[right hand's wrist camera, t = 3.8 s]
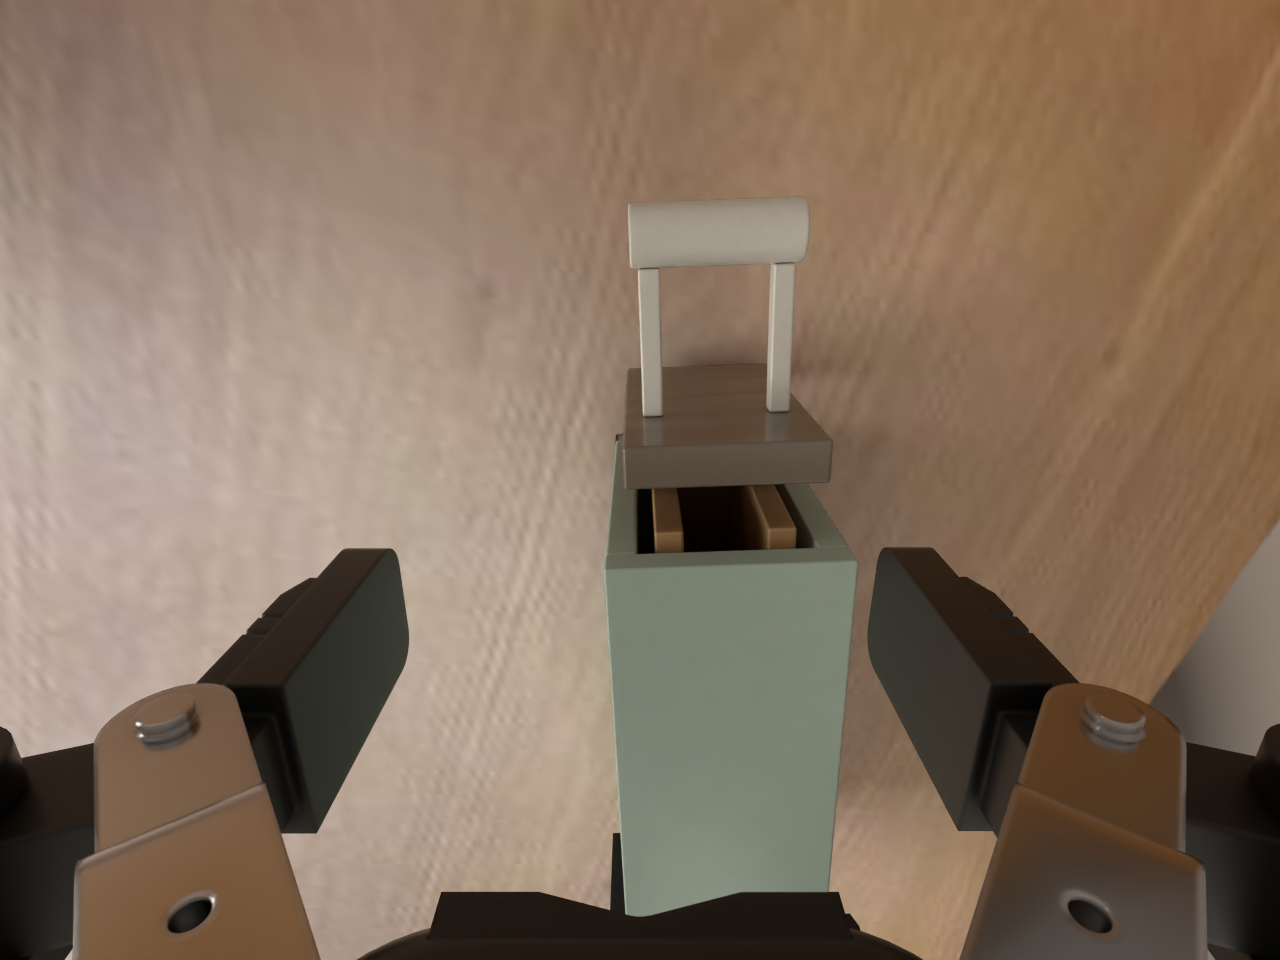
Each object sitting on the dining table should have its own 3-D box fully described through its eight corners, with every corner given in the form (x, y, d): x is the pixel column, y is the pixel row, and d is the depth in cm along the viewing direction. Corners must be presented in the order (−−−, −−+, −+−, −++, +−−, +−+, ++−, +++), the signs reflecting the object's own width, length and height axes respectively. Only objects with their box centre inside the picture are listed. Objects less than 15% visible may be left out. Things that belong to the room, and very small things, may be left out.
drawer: (619, 207, 24) (609, 201, 15) (771, 200, 24) (851, 191, 15) (644, 755, 33) (646, 956, 24) (754, 751, 33) (798, 952, 24)
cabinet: (616, 434, 28) (603, 569, 18) (774, 428, 28) (859, 560, 18) (635, 804, 36) (634, 1059, 25) (760, 800, 36) (814, 1054, 25)
